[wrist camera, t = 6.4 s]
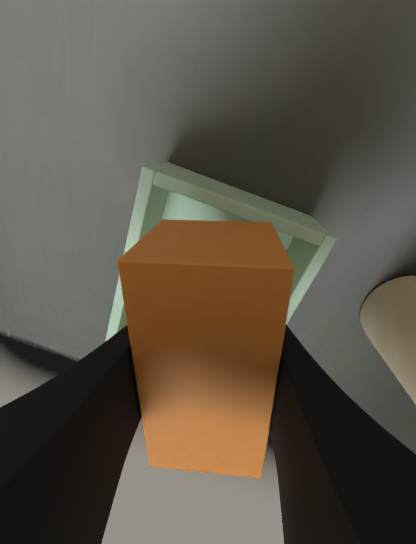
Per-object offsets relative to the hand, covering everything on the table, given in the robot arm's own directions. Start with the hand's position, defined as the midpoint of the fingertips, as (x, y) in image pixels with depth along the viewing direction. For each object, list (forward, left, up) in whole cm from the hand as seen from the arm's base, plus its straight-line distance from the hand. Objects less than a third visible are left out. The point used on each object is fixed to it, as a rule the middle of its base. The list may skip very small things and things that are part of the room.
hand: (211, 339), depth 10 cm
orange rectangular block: (0, 0, -2) cm, 2 cm away
